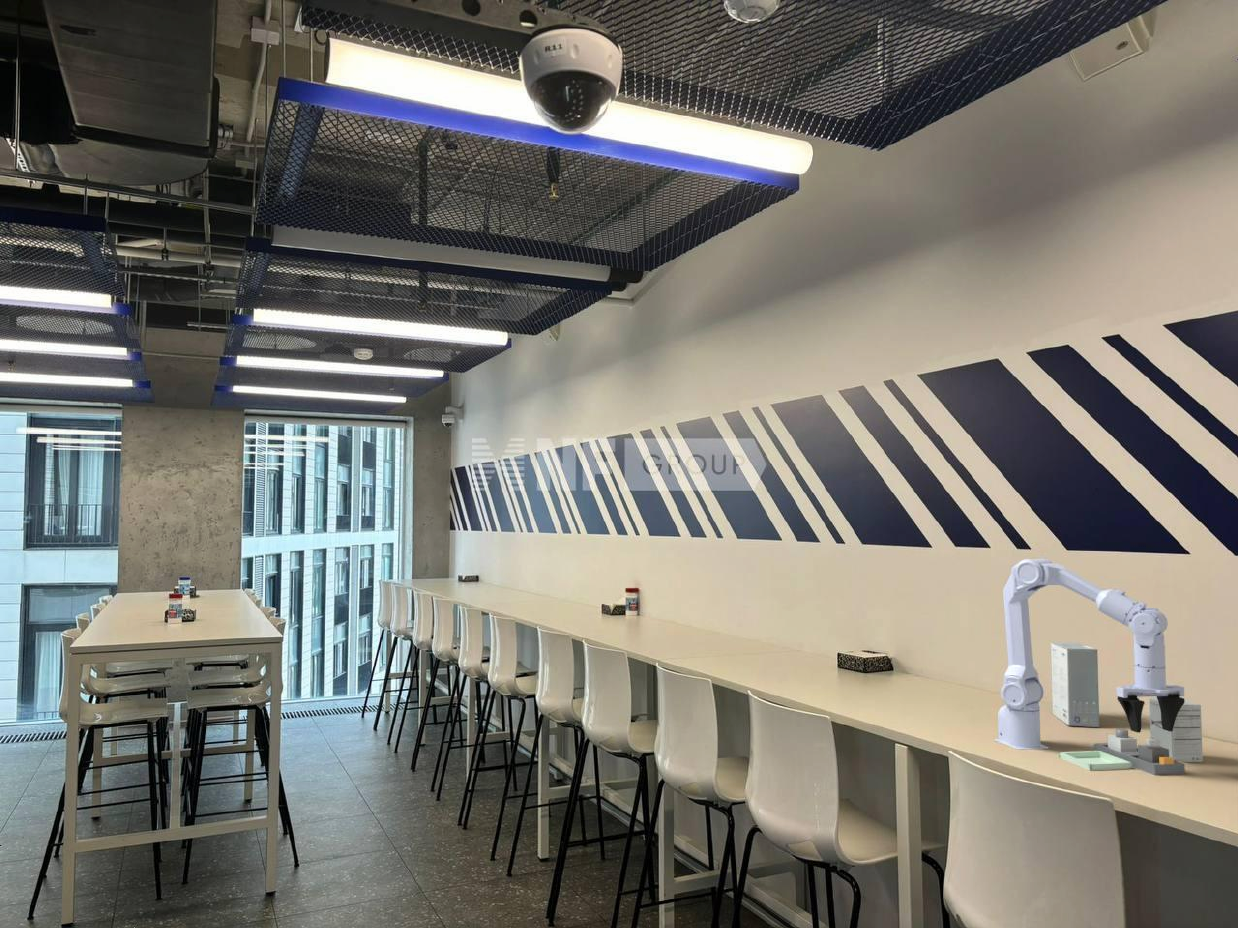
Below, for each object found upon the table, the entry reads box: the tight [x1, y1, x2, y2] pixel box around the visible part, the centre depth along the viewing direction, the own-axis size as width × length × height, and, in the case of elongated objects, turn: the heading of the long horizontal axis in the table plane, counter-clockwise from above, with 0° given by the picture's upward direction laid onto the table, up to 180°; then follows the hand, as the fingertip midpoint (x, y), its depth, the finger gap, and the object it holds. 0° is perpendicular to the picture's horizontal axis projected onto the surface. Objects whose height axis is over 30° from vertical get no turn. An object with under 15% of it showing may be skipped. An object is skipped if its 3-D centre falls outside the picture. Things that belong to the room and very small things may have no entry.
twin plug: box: [1107, 728, 1138, 752], centre depth 196 cm, size 4×4×6 cm
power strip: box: [1093, 742, 1186, 776], centre depth 191 cm, size 18×7×4 cm, turn 9°
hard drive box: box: [1050, 641, 1100, 728], centre depth 235 cm, size 16×8×20 cm, turn 168°
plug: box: [1137, 738, 1169, 763], centre depth 187 cm, size 4×4×6 cm
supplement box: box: [1148, 697, 1204, 763], centre depth 198 cm, size 7×7×13 cm
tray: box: [1058, 750, 1134, 771], centre depth 191 cm, size 10×10×2 cm
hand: (1151, 730), depth 187 cm, fingers open, 7 cm apart
